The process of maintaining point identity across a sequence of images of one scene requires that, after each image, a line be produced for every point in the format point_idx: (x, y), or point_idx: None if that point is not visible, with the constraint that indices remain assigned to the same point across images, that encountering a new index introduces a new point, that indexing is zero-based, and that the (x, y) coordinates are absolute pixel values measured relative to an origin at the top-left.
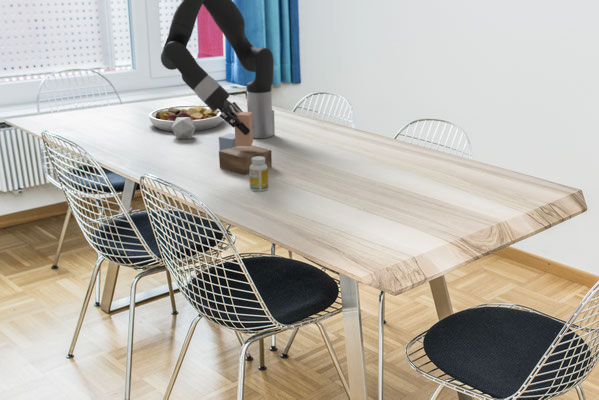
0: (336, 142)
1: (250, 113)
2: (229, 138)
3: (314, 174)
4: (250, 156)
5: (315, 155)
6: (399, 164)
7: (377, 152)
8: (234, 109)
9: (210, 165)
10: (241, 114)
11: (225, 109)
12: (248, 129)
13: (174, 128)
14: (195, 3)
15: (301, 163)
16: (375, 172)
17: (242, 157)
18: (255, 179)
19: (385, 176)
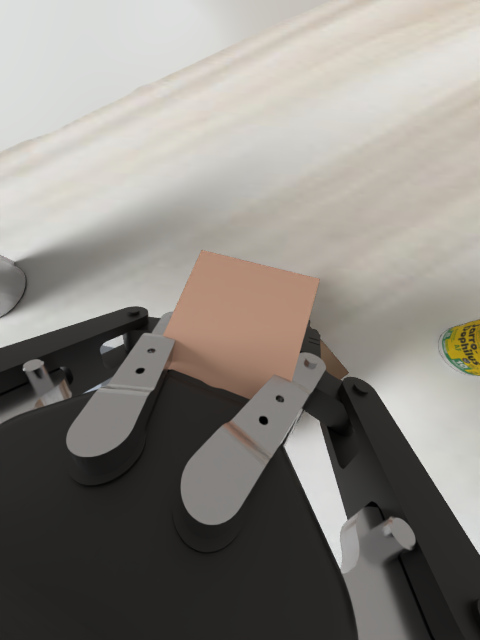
0: (124, 159)
1: (246, 265)
2: (87, 391)
3: (342, 216)
4: (325, 346)
5: (200, 201)
6: (297, 88)
7: (214, 109)
8: (152, 395)
9: None
10: (270, 339)
11: (355, 616)
12: (309, 323)
13: None
14: None
15: (252, 232)
16: (342, 121)
17: (342, 376)
18: None
19: (370, 110)
